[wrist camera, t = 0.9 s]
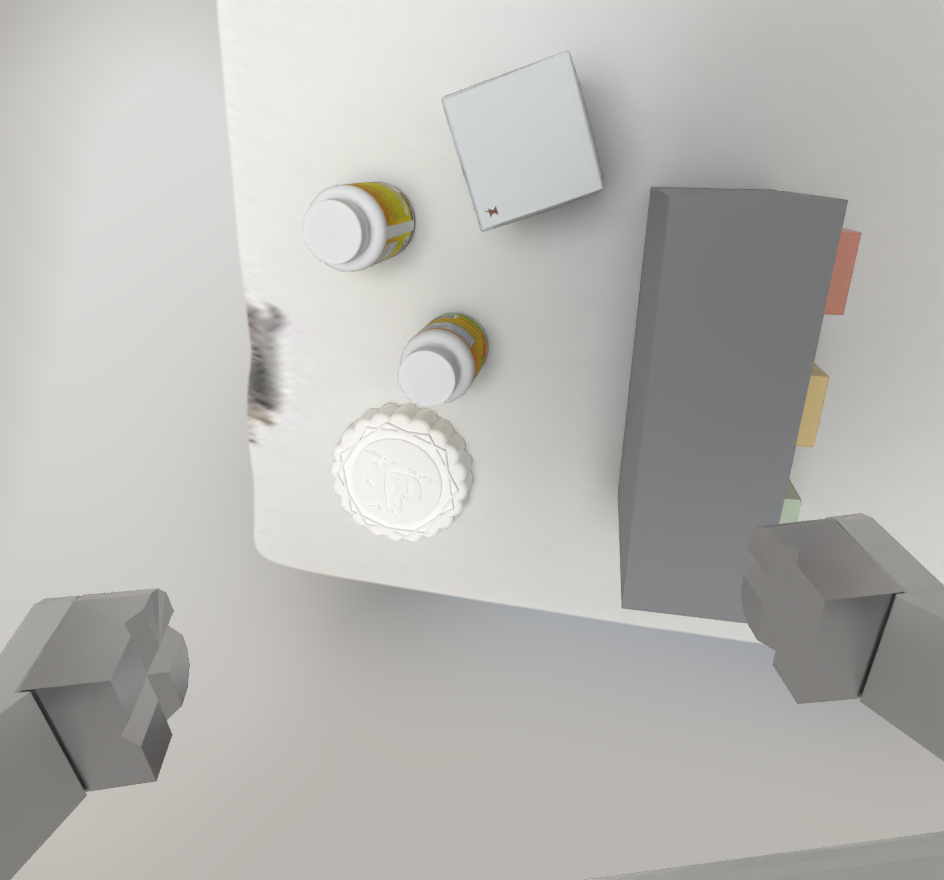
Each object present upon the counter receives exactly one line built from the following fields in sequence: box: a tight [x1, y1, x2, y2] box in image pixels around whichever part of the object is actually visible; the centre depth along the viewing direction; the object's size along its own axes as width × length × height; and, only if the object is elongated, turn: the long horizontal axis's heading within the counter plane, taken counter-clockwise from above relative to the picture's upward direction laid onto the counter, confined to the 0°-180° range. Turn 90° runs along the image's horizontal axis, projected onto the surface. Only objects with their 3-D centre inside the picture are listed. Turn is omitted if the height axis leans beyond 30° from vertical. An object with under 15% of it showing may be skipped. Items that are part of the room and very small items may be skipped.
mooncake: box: [330, 403, 473, 542], centre depth 58 cm, size 12×12×4 cm
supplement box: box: [442, 50, 604, 231], centre depth 42 cm, size 7×7×13 cm
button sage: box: [779, 479, 802, 524], centre depth 45 cm, size 3×4×4 cm
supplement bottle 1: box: [302, 182, 414, 272], centre depth 47 cm, size 6×6×10 cm
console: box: [618, 187, 848, 623], centre depth 44 cm, size 8×24×16 cm, turn 179°
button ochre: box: [796, 362, 829, 447], centre depth 42 cm, size 3×4×4 cm
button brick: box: [824, 228, 861, 315], centre depth 39 cm, size 3×4×4 cm
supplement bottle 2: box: [398, 313, 488, 407], centre depth 50 cm, size 5×5×10 cm
